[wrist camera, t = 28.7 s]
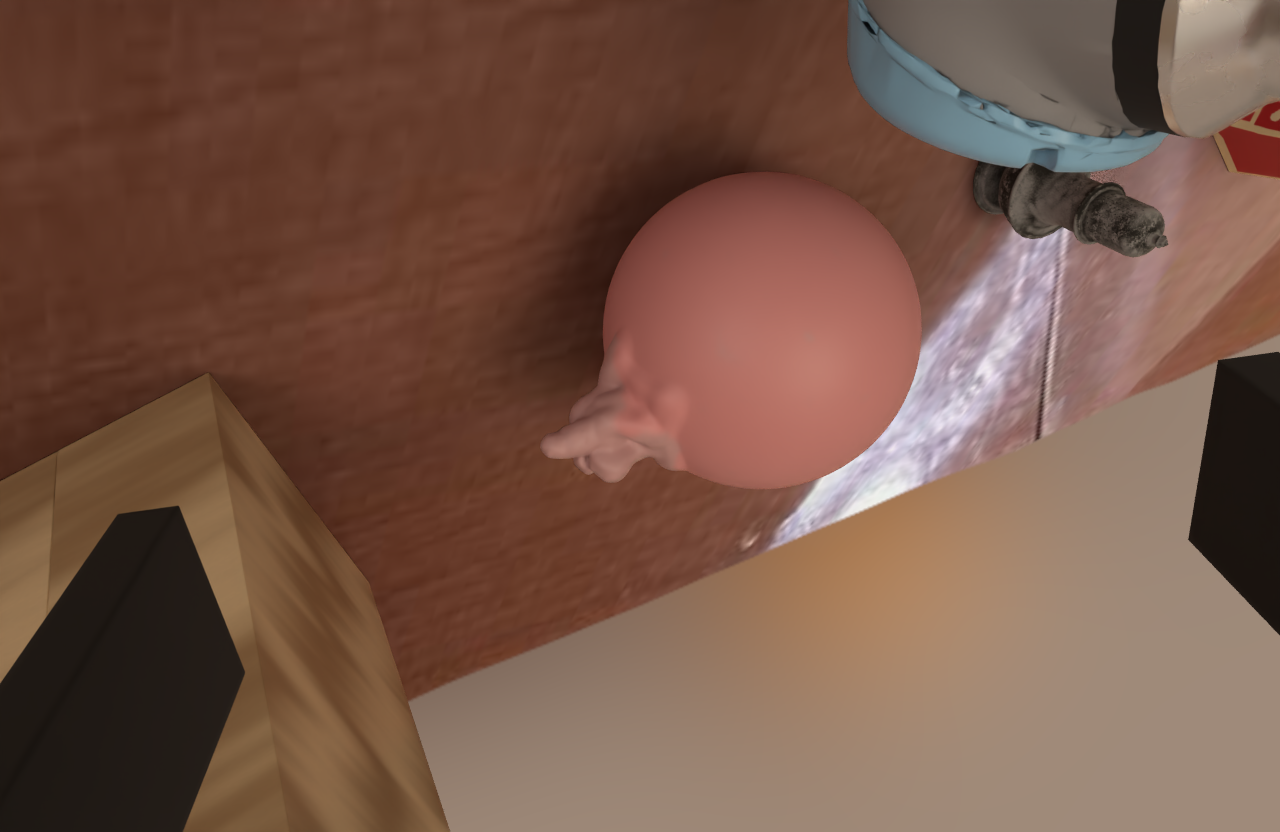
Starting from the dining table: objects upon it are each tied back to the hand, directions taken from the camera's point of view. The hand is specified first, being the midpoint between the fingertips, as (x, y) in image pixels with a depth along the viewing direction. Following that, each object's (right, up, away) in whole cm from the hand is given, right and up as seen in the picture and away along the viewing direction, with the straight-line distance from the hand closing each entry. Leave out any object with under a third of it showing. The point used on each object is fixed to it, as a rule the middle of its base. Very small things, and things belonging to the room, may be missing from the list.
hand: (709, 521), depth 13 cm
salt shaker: (+21, +16, +49) cm, 56 cm away
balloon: (0, +9, +42) cm, 43 cm away
